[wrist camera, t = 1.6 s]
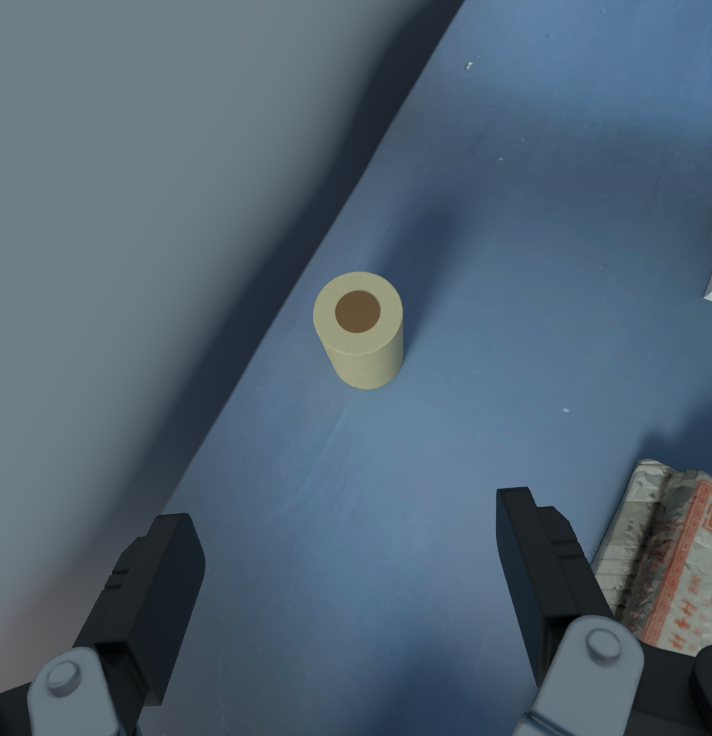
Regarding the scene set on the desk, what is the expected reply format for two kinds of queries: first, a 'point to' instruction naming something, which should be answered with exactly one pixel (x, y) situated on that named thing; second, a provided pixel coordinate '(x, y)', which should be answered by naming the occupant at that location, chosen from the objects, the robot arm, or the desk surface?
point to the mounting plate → (709, 291)
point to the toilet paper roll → (361, 328)
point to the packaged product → (661, 558)
